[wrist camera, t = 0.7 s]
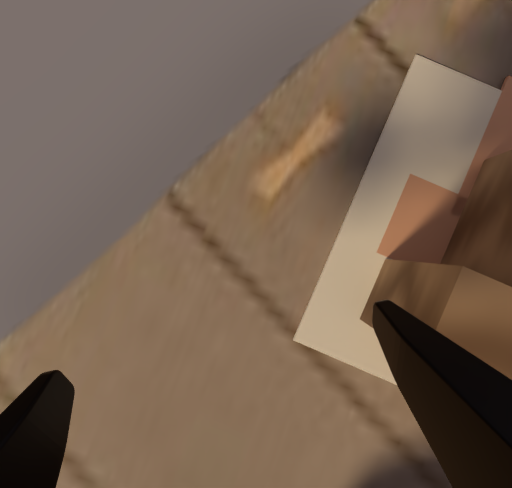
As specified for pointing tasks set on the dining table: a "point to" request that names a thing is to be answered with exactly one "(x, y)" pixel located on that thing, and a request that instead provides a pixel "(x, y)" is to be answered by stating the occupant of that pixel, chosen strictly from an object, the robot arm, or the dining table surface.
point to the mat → (406, 201)
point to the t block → (465, 274)
